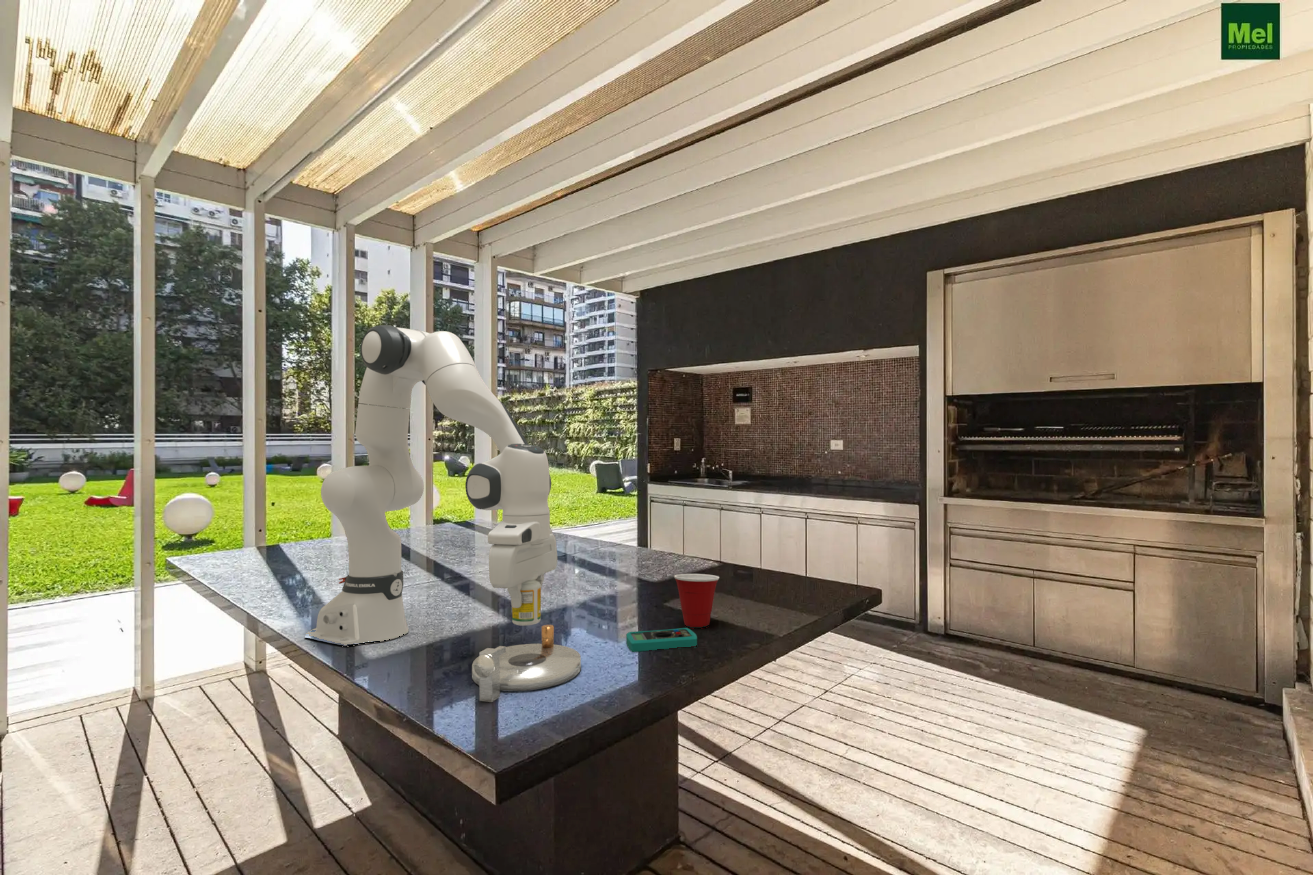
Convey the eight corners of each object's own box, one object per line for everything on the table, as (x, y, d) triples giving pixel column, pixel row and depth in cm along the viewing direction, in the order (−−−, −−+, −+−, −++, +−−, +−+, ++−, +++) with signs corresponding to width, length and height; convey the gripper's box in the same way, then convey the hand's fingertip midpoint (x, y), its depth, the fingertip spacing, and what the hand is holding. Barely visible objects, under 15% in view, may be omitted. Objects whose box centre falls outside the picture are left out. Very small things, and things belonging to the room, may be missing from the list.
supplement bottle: (524, 627, 112) (523, 575, 112) (506, 622, 115) (506, 571, 116) (546, 621, 116) (546, 570, 116) (529, 616, 120) (528, 567, 120)
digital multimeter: (700, 649, 129) (699, 635, 129) (630, 654, 126) (630, 640, 126) (691, 639, 137) (690, 626, 137) (625, 644, 134) (625, 630, 134)
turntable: (449, 684, 109) (449, 650, 109) (507, 650, 128) (507, 621, 128) (551, 696, 103) (551, 660, 103) (596, 658, 122) (596, 627, 122)
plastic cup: (726, 622, 149) (725, 572, 149) (711, 634, 139) (710, 580, 139) (684, 617, 153) (684, 569, 154) (667, 628, 143) (666, 577, 144)
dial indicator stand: (473, 702, 102) (473, 653, 102) (493, 688, 108) (493, 642, 108) (492, 704, 101) (492, 655, 101) (512, 690, 106) (511, 644, 107)
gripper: (537, 522, 127) (537, 590, 127) (482, 535, 107) (482, 615, 107) (564, 523, 125) (565, 591, 125) (514, 536, 106) (514, 617, 105)
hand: (526, 602), depth 116 cm, fingers closed on supplement bottle, 5 cm apart
